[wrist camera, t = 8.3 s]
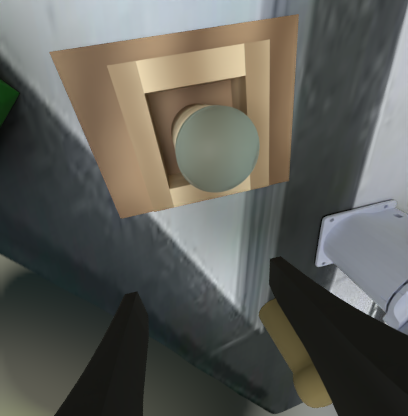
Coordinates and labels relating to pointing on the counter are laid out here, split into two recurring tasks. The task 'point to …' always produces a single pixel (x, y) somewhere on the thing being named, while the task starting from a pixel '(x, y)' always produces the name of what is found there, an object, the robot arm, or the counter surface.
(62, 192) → the counter surface
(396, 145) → the counter surface
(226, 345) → the counter surface
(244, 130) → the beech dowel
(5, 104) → the milk carton
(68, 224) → the counter surface
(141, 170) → the socket board
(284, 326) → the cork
